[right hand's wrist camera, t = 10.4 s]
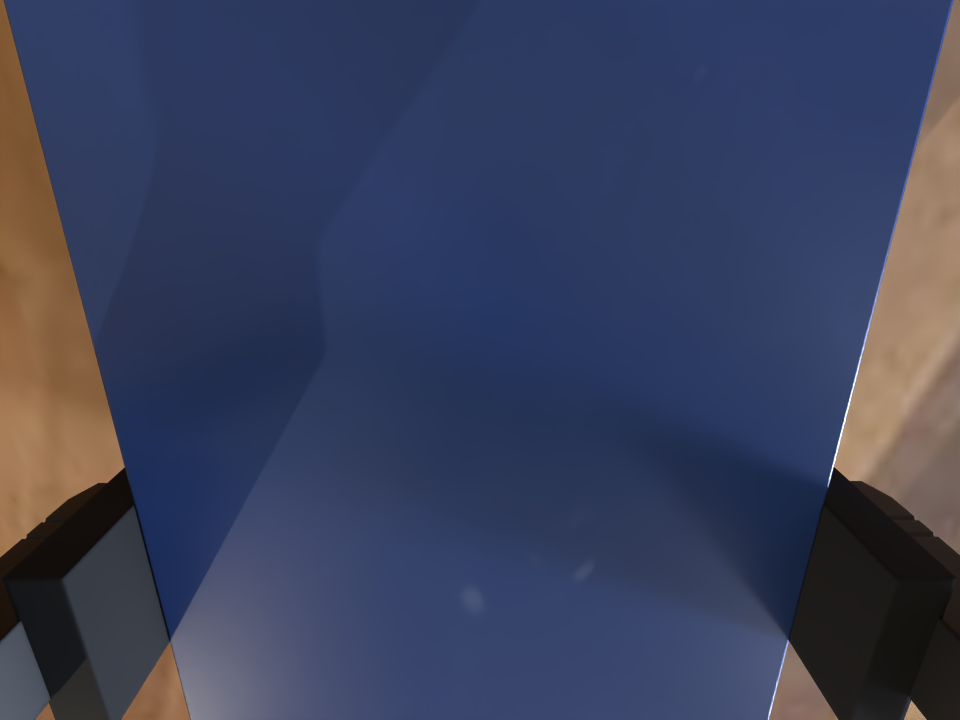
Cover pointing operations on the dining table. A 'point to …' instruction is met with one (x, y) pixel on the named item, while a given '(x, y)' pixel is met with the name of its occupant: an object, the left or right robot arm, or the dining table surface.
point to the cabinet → (479, 330)
